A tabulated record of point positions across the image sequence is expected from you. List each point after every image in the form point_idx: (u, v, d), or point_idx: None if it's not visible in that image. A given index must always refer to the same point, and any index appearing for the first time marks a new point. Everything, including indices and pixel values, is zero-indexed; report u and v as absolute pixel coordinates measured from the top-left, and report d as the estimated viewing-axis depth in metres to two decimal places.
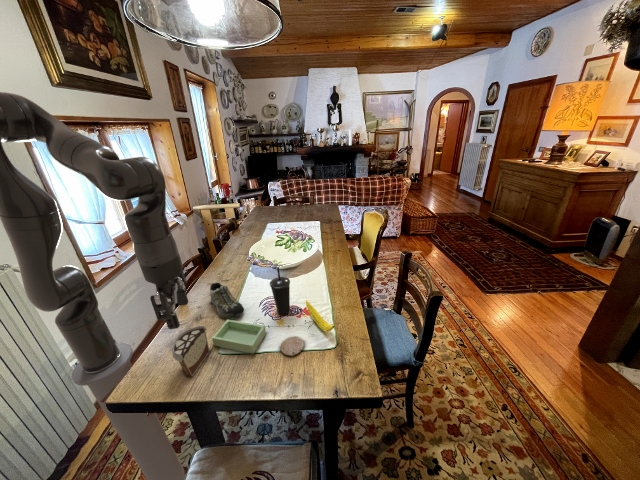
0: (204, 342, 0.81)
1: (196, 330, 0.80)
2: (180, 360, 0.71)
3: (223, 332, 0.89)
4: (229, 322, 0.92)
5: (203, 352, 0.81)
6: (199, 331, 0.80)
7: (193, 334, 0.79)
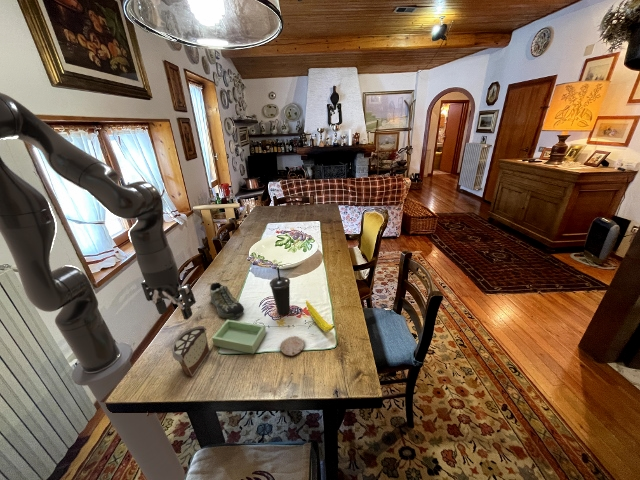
0: (204, 342, 0.81)
1: (196, 330, 0.80)
2: (180, 360, 0.71)
3: (223, 332, 0.89)
4: (229, 322, 0.92)
5: (203, 352, 0.81)
6: (199, 331, 0.80)
7: (193, 334, 0.79)
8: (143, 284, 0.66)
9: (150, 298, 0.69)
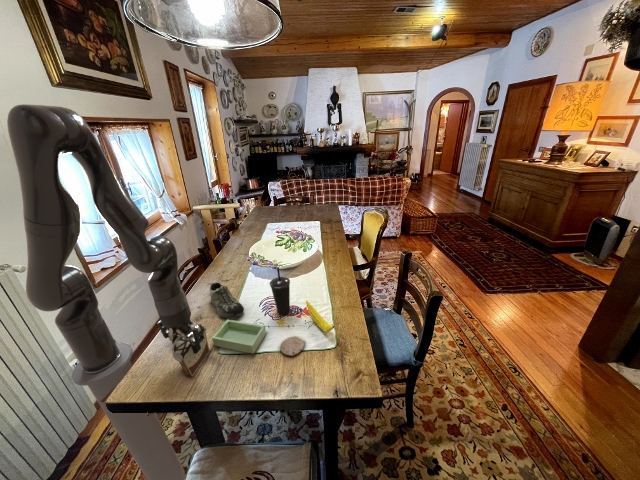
0: (204, 342, 0.81)
1: None
2: (180, 360, 0.71)
3: (223, 332, 0.89)
4: (229, 322, 0.92)
5: (203, 352, 0.81)
6: None
7: None
8: (159, 324, 0.74)
9: (167, 335, 0.76)
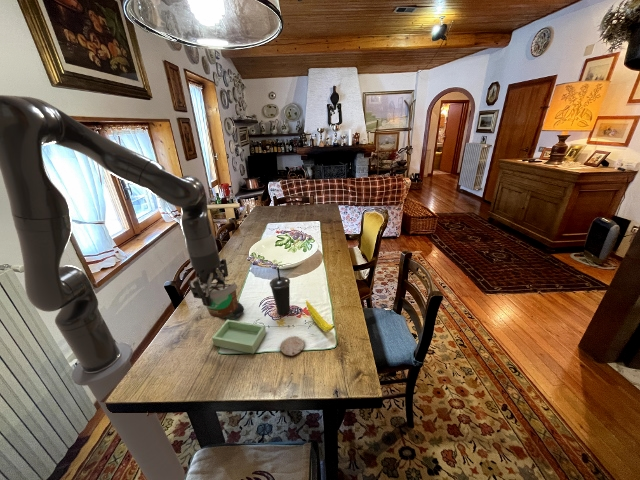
0: None
1: None
2: (236, 287, 0.78)
3: (223, 332, 0.89)
4: (229, 322, 0.92)
5: None
6: (204, 284, 0.79)
7: None
8: (197, 282, 0.68)
9: None
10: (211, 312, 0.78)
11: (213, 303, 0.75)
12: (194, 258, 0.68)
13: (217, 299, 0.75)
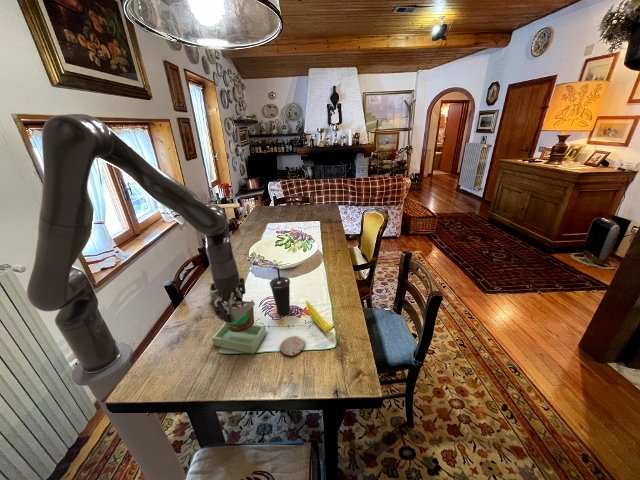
0: None
1: None
2: (253, 304, 0.84)
3: (223, 332, 0.89)
4: None
5: None
6: (224, 301, 0.84)
7: None
8: (220, 302, 0.74)
9: None
10: (230, 327, 0.84)
11: (233, 319, 0.81)
12: (217, 280, 0.74)
13: (237, 316, 0.81)
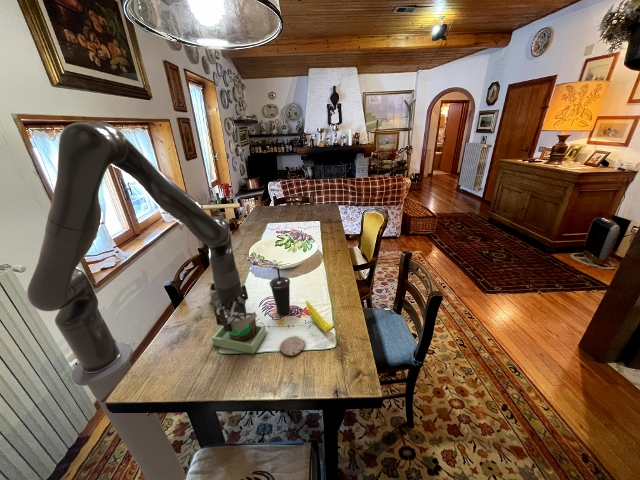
0: None
1: None
2: (256, 315, 0.86)
3: (223, 332, 0.89)
4: None
5: None
6: (227, 312, 0.86)
7: None
8: (223, 310, 0.75)
9: None
10: (233, 338, 0.86)
11: (235, 331, 0.83)
12: (220, 289, 0.75)
13: (239, 327, 0.83)
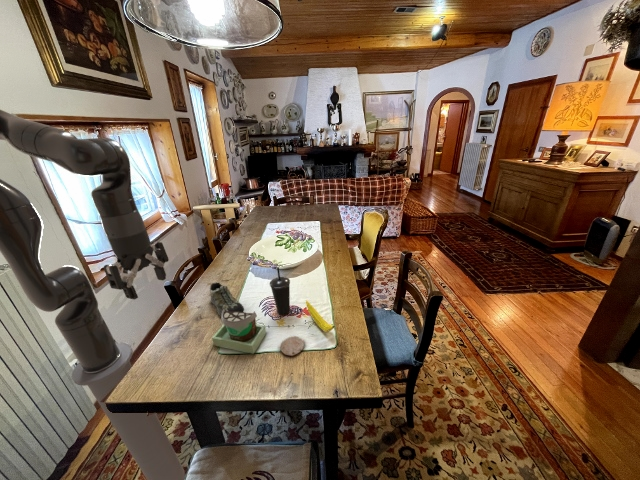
0: None
1: (224, 315, 0.85)
2: (256, 315, 0.86)
3: (223, 332, 0.89)
4: None
5: None
6: (227, 312, 0.86)
7: (229, 315, 0.85)
8: (115, 267, 0.56)
9: None
10: (233, 338, 0.86)
11: (235, 331, 0.83)
12: (112, 240, 0.56)
13: (239, 327, 0.83)
